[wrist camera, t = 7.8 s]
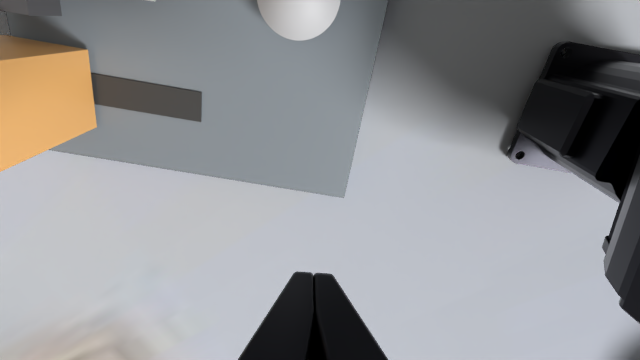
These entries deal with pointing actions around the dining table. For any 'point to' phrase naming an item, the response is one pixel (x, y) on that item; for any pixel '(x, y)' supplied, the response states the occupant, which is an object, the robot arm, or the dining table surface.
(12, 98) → the slider knob
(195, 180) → the dining table surface
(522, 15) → the dining table surface
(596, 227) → the dining table surface
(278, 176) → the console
